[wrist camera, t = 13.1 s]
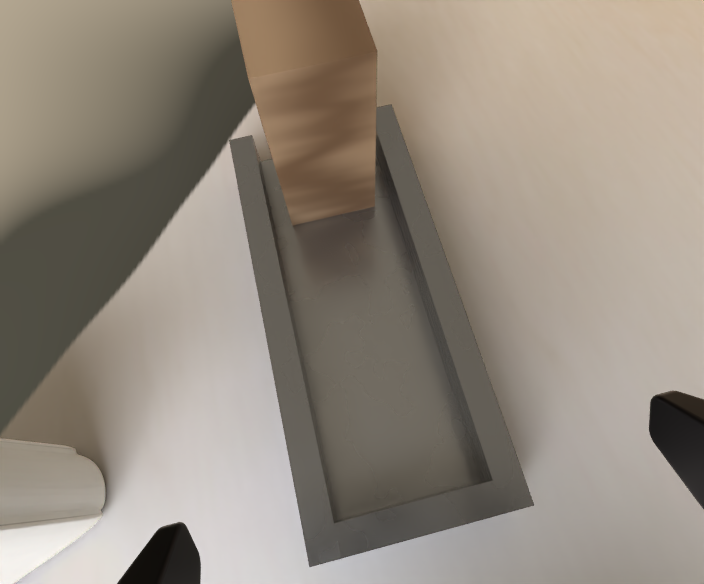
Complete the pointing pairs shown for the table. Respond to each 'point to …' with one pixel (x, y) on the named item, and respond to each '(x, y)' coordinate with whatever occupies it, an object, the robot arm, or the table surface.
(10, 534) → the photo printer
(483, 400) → the gray rectangular tray
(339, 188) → the wooden tall block
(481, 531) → the table surface
